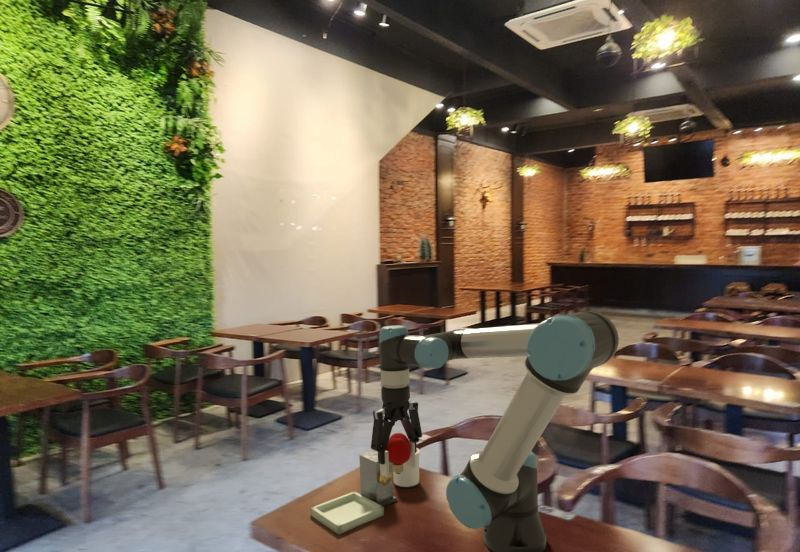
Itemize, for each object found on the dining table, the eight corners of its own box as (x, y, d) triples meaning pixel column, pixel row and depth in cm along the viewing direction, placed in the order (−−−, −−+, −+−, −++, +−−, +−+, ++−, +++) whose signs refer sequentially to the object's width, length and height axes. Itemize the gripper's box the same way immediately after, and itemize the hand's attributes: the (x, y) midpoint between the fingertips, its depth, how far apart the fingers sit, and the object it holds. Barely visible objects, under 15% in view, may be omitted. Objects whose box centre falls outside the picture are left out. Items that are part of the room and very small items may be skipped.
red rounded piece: (408, 481, 130) (406, 442, 130) (381, 480, 131) (379, 441, 131) (414, 467, 139) (413, 430, 139) (389, 466, 141) (388, 429, 140)
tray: (384, 515, 142) (383, 507, 142) (338, 534, 133) (338, 526, 133) (354, 498, 153) (354, 491, 153) (310, 515, 143) (310, 507, 143)
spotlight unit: (396, 501, 151) (395, 457, 150) (378, 508, 146) (376, 463, 146) (376, 490, 158) (374, 448, 158) (357, 497, 154) (356, 454, 153)
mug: (417, 490, 157) (416, 456, 157) (389, 488, 159) (388, 455, 159) (424, 475, 168) (423, 444, 168) (397, 474, 170) (396, 443, 170)
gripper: (415, 376, 144) (418, 456, 145) (354, 389, 131) (357, 478, 131) (434, 380, 139) (436, 463, 139) (371, 394, 125) (375, 487, 126)
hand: (398, 470), depth 135 cm, fingers closed on red rounded piece, 8 cm apart
